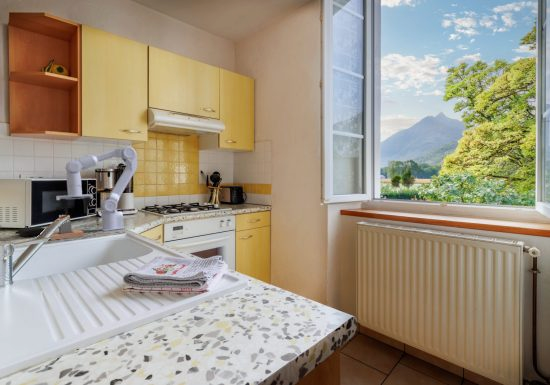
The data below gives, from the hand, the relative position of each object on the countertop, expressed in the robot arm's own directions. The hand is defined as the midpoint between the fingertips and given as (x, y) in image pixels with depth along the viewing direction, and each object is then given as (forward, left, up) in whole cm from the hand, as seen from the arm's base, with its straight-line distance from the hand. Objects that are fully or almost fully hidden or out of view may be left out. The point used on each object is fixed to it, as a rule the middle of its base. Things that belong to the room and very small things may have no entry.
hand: (76, 213), depth 143 cm
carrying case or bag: (+15, -7, -8) cm, 19 cm away
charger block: (+6, +7, -10) cm, 13 cm away
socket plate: (+6, +6, -9) cm, 13 cm away
